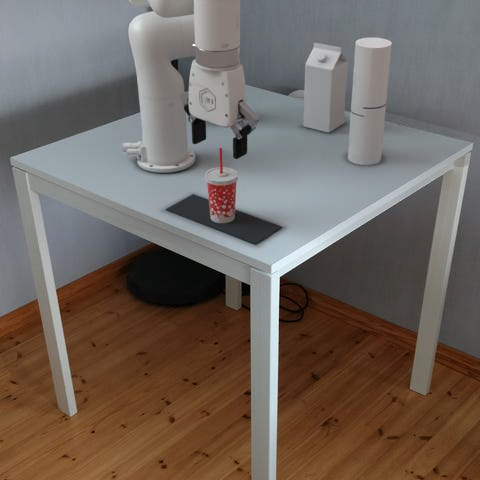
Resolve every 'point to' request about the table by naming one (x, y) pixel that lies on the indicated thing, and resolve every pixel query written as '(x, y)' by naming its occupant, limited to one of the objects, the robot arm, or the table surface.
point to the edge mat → (240, 227)
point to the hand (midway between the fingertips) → (219, 148)
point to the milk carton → (325, 88)
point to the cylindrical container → (369, 100)
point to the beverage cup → (221, 192)
